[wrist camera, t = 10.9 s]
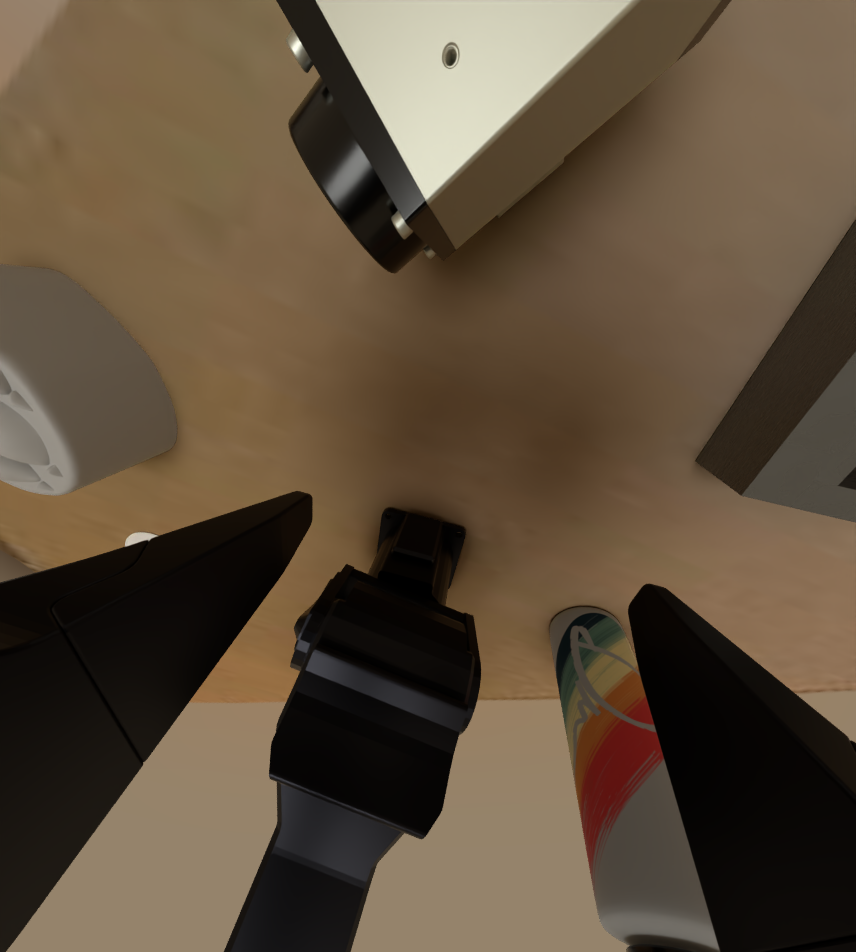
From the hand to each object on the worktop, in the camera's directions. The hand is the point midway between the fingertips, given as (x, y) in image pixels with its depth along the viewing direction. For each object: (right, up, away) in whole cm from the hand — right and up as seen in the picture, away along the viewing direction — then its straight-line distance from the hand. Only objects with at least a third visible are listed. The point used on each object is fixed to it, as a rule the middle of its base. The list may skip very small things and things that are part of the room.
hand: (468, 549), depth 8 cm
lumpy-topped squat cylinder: (-26, +9, +16) cm, 31 cm away
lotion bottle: (+12, -11, +18) cm, 24 cm away
